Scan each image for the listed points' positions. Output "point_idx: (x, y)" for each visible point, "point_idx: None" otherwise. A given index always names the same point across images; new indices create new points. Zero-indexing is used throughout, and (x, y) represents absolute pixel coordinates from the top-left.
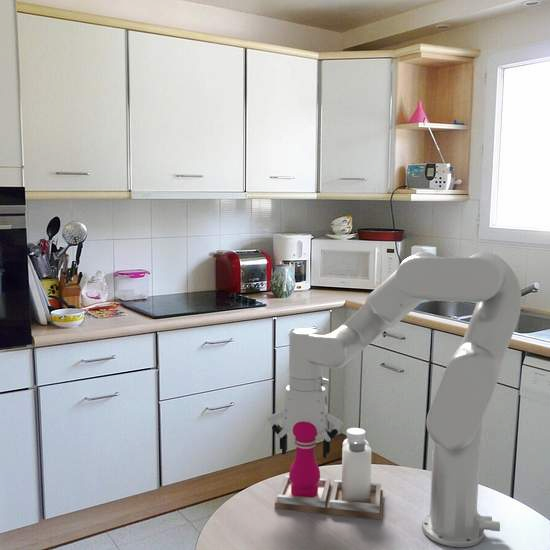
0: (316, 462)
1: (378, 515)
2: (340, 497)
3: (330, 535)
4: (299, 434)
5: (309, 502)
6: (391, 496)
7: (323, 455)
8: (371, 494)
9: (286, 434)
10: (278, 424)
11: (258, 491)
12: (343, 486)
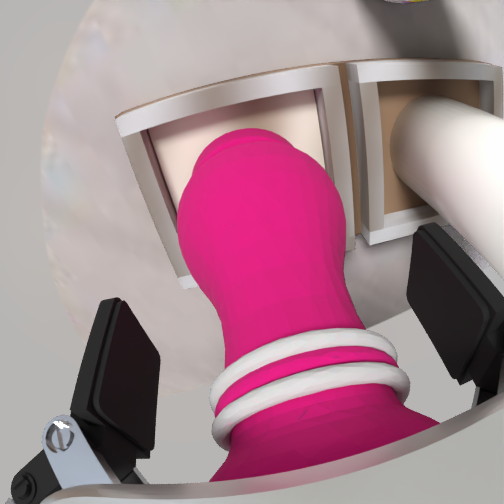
0: (341, 233)
1: None
2: (386, 153)
3: (366, 302)
4: None
5: None
6: (494, 60)
7: (415, 307)
8: (469, 101)
9: (91, 404)
10: (37, 500)
11: (68, 193)
12: (426, 200)
